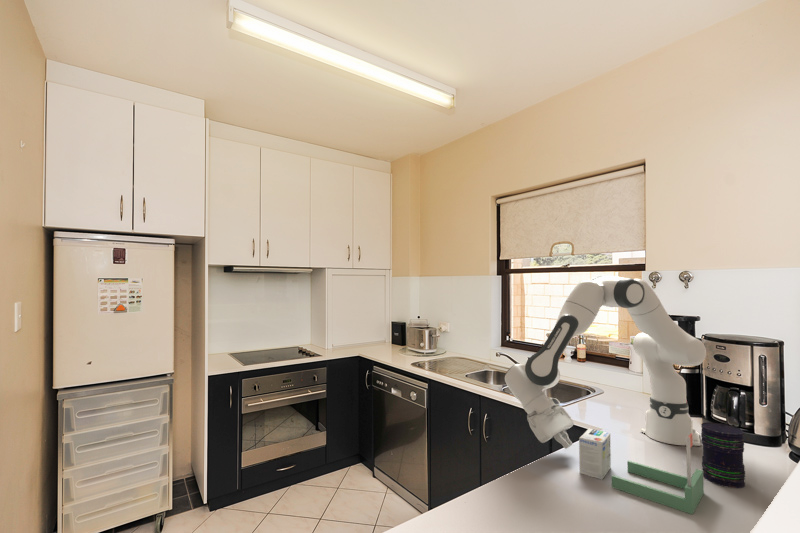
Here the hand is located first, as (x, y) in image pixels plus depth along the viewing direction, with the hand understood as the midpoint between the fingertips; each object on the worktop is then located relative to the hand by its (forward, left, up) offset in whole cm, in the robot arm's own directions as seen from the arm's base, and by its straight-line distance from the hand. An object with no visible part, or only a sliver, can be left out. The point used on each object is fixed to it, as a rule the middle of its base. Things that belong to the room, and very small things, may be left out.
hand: (569, 446), depth 128 cm
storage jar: (-21, +36, -5) cm, 42 cm away
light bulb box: (0, +8, -5) cm, 9 cm away
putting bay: (0, +24, -5) cm, 24 cm away
